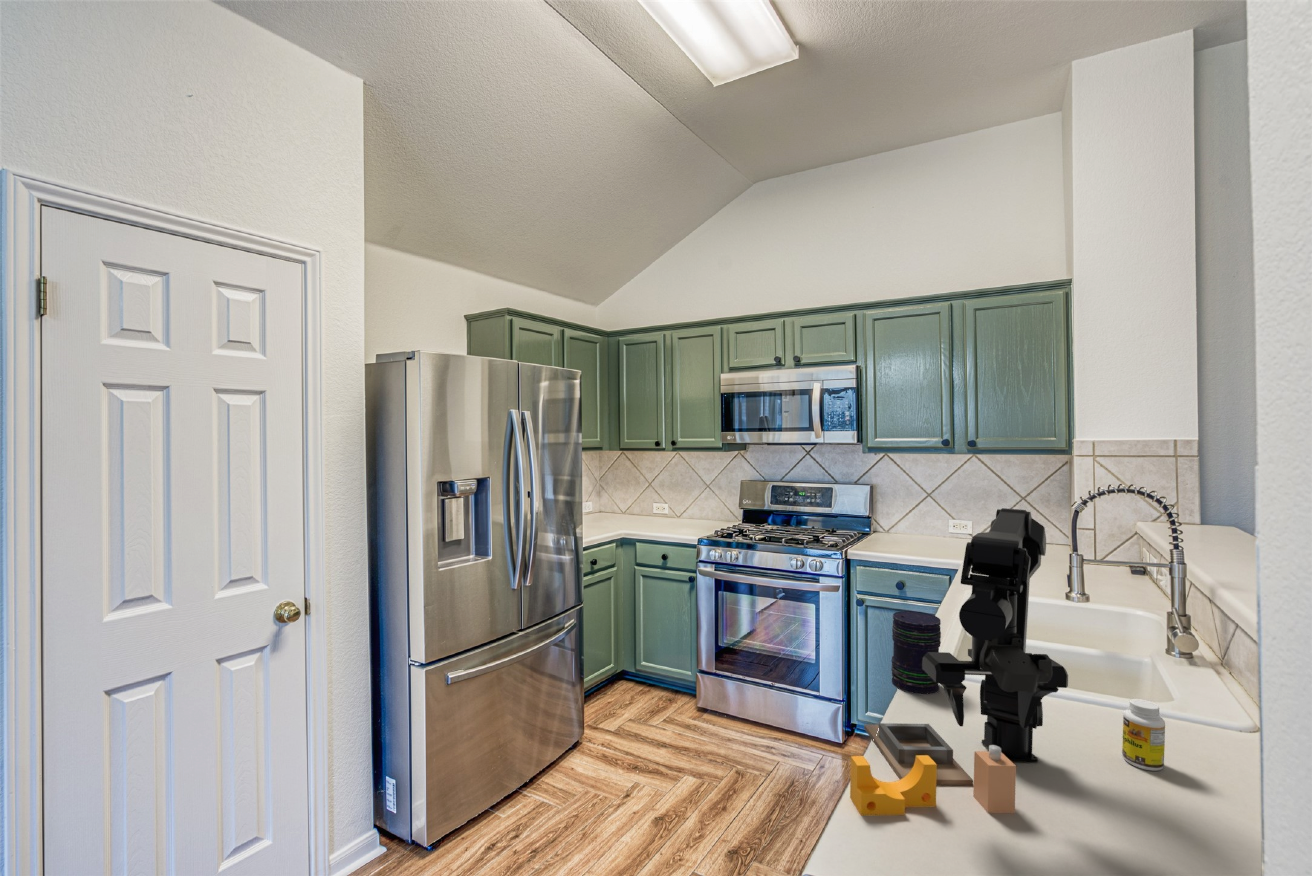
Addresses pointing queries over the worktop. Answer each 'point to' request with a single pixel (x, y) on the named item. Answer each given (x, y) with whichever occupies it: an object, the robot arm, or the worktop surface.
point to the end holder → (917, 750)
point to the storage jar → (914, 650)
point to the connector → (994, 781)
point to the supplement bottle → (1143, 735)
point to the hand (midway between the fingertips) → (991, 726)
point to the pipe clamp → (892, 788)
